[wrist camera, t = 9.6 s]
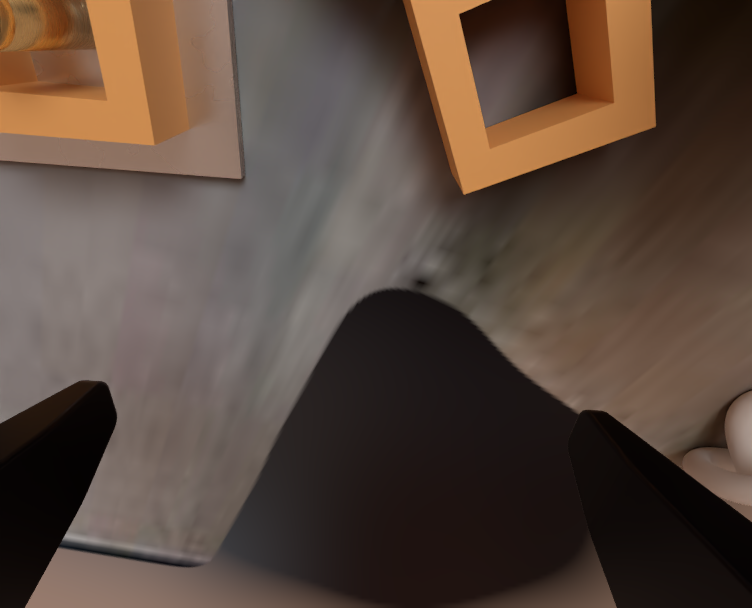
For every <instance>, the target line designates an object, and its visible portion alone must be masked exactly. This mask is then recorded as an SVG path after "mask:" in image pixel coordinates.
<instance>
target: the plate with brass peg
mask: <svg viewBox="0 0 752 608" xmlns="http://www.w3.org/2000/svg"><path fill="white" fill-rule="evenodd" d="M173 6H174V14H175V22H176V29H177V37H178V45H179V52H180V60H181V68H182V75H183V83H184V91H185V98H186V106H187V114H188V121H189V130H187V131H185V132H183V133H181V134H179V135H176V136H174V137H172V138H170V139H168V140H166V141H163V142H161V143H159V144H157V145H143V144H131V143H119V142H107V141H95V140H83V139H71V138H60V137H48V136H36V135H24V134H12V133H0V160H3V161H16V162H29V163H42V164H55V165H68V166H80V167H93V168H106V169H119V170H132V171H145V172H158V173H171V174H184V175H196V176H209V177H222V178H235V179H242V178H243V177H244V176H245V165H244V152H243V139H242V126H241V113H240V100H239V87H238V74H237V61H236V47H235V34H234V21H233V8H232V0H173ZM12 51H30V54H31V58H32V61H33V65H34V69H35V72H36V76H37V79H38V81H40V82H51V83H63V84H74V85H85V86H96V87H104V82H103V78H102V73H101V68H100V64H99V59H98V54H97V50H96V45H95V40H94V36H93V31H92V26H91V22H90V17H89V13H88V8H87V3H86V0H0V52H12Z"/></svg>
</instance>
